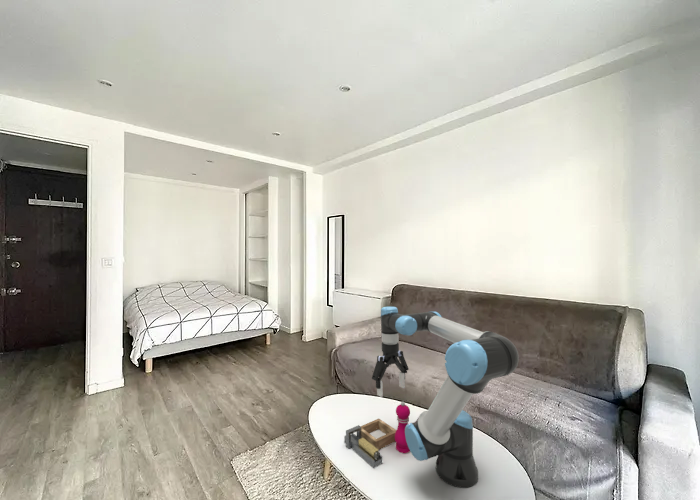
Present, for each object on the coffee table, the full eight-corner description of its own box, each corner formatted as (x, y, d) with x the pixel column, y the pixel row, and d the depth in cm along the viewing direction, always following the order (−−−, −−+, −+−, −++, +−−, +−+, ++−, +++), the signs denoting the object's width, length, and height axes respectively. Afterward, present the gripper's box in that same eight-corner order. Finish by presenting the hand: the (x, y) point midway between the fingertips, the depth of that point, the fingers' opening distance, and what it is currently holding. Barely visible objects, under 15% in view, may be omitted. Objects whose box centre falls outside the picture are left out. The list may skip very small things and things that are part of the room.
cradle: (398, 440, 136) (398, 431, 136) (376, 451, 129) (376, 441, 129) (378, 426, 147) (378, 418, 147) (357, 436, 139) (357, 427, 139)
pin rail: (384, 462, 122) (384, 444, 122) (371, 469, 118) (371, 451, 118) (354, 437, 138) (354, 422, 138) (342, 443, 134) (341, 427, 134)
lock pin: (380, 458, 121) (380, 450, 121) (375, 461, 119) (374, 453, 119) (363, 444, 130) (363, 437, 130) (358, 447, 128) (358, 439, 128)
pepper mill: (399, 455, 126) (398, 407, 126) (391, 445, 133) (391, 399, 133) (414, 452, 128) (414, 404, 128) (407, 442, 135) (406, 396, 135)
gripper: (403, 336, 145) (404, 381, 144) (362, 345, 130) (364, 396, 129) (415, 339, 139) (416, 386, 138) (374, 349, 124) (376, 402, 123)
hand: (391, 391), depth 133 cm, fingers open, 13 cm apart
